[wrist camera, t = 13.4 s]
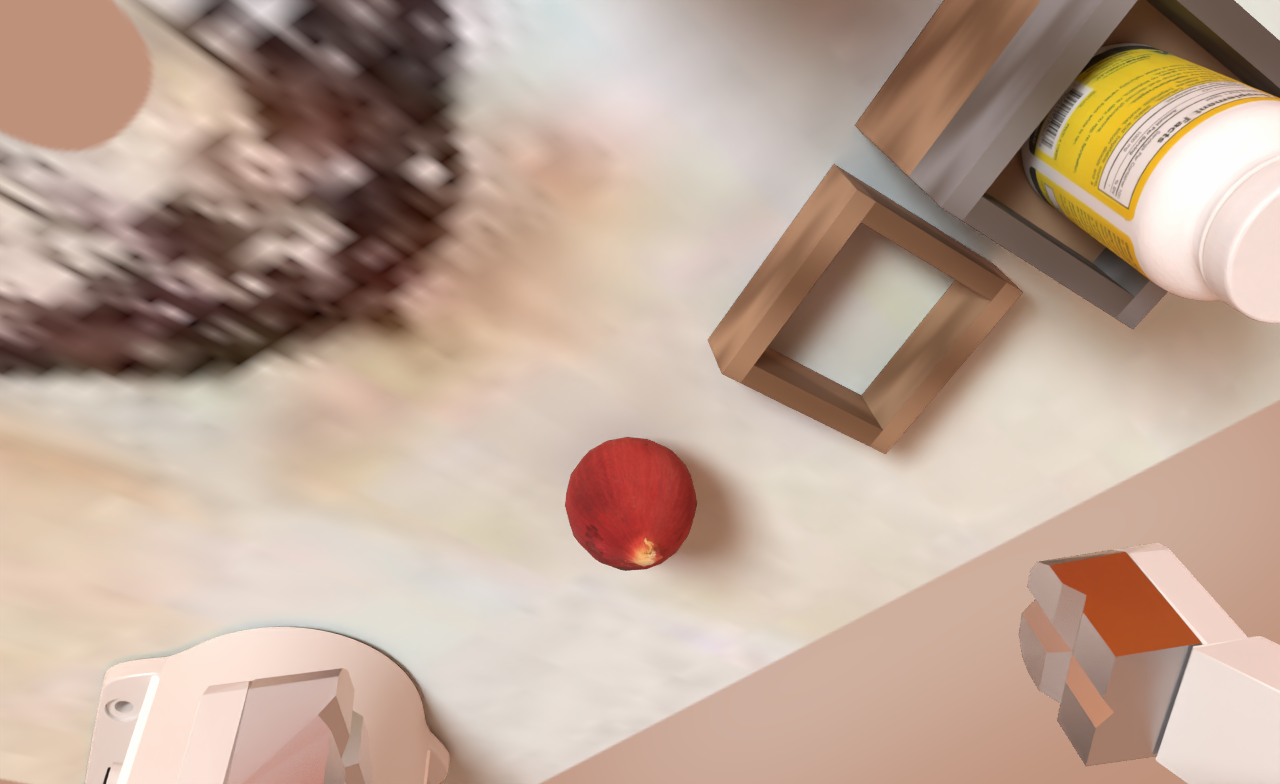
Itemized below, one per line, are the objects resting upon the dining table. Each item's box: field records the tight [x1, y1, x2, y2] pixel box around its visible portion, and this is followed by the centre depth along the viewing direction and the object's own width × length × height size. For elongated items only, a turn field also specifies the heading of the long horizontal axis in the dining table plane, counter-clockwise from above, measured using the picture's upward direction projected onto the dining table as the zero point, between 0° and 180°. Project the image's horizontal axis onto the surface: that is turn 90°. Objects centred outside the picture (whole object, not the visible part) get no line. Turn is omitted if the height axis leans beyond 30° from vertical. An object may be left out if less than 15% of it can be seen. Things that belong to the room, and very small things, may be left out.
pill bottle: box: [1021, 43, 1280, 323], centre depth 32 cm, size 6×6×11 cm
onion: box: [565, 437, 697, 571], centre depth 46 cm, size 6×6×8 cm
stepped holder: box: [708, 0, 1280, 454], centre depth 40 cm, size 21×10×9 cm, turn 148°
